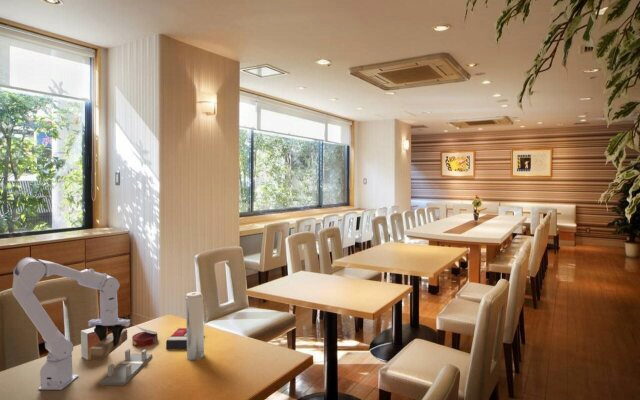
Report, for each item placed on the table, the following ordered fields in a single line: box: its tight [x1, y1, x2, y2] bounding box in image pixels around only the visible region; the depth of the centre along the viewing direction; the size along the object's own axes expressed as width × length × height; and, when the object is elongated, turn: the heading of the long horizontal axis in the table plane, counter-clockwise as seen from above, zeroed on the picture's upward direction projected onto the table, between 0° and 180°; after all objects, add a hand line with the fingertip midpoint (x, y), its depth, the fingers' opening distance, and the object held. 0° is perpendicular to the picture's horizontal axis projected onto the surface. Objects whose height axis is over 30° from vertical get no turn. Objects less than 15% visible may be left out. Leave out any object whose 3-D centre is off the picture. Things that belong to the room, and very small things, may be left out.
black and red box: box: [165, 327, 187, 350], centre depth 175 cm, size 11×4×15 cm
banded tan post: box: [90, 328, 128, 361], centre depth 152 cm, size 18×4×4 cm, turn 179°
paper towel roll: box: [185, 291, 205, 361], centre depth 159 cm, size 6×6×25 cm
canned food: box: [131, 323, 158, 348], centre depth 174 cm, size 11×10×10 cm
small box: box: [80, 326, 109, 361], centre depth 161 cm, size 8×6×10 cm
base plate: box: [100, 349, 153, 386], centre depth 149 cm, size 22×8×4 cm, turn 179°
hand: (110, 344), depth 152 cm, fingers closed on banded tan post, 4 cm apart
